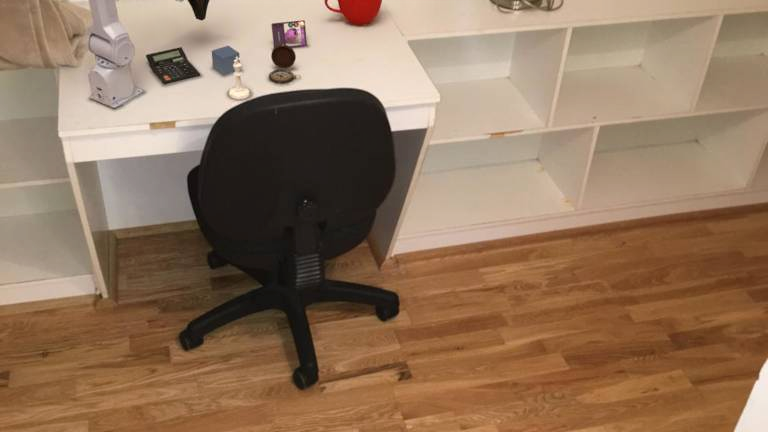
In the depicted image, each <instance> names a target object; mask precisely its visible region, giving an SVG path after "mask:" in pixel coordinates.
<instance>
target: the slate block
mask: <svg viewBox="0 0 768 432" xmlns="http://www.w3.org/2000/svg"><path fill="white" fill-rule="evenodd" d="M236 57H238V58H240V59H241V57H240V52H238V51H237V50H236V49H235V48H233V47H232V46H230V45H225V46H222V47H219V48H216V49H213V50H211V60H212V68H213V70H215V71H216V72H218V73H219V74H221V75H222V76H227V75H229V74H234V72H235V68H234V66H233V64H234V63H235V62H234V60H236ZM239 63H241V60H240V61H239Z"/></svg>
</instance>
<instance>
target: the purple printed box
mask: <svg viewBox="0 0 768 432" xmlns="http://www.w3.org/2000/svg"><path fill="white" fill-rule="evenodd" d="M286 24H287V27H288V28H289V29H286V31H285V25H286ZM270 25H271V34H272V44H273V49H274V48H275V47H276V46H278V45H283V44H284V45H287V44H286V41H287V42H294V41H295V40H297V38H299V35H300V37H301V41H300V44H296V45H295V44H294V45H289V46H290V47H291V48H300V47H307V46H308V41H307V40H308V39H307V30H306V21H305V20H304V19H303V20H294V21H282V22H272V23H271V24H270ZM298 27H299V28H298ZM298 31H300V33H299V32H298Z"/></svg>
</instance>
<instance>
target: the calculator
mask: <svg viewBox="0 0 768 432" xmlns="http://www.w3.org/2000/svg"><path fill="white" fill-rule="evenodd" d="M145 58H146V60H147V62H148V65H149V66H150V68H151V71H152V72H153V73H154V75H155V76H156V77H157V78H158V80H159V81H160V82H161V83H162V84H163V85H164V86H166V85H168V84H169V85H170V84H173V83H176V82H181V81H185V80H189V79H193V78H198V77H201V73H200V72H199V71H198V70H197V69H196V67H195V66H193V64H192V63H191V62H190V61H189V59H188V57H187V55H186V53H185V51H184V49H183V47H182V46H179V47H176V48H175V47H174V48H171V49H166V50H161V51H157V52H152V53H149V54H146V55H145Z"/></svg>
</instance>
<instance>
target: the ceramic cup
mask: <svg viewBox="0 0 768 432" xmlns="http://www.w3.org/2000/svg"><path fill="white" fill-rule="evenodd" d="M328 2H329V0H324V5H325V7H326V8H327V9H328V10H329V11H330V12H334V13H337V14H342V16H343V18H344V19H345V20H346V21H347V22H348V23H349V24H351V25H353V26H356V27H357V26H358V27H360V26H367V25H369V24H371V22H372V21H373V20H374V19H375V18H376V17H377V15H378V14H379V12H380V11H381V7H382V2H383V0H337V3H338V8H339V9H337V8H333V7H331V6H330V5H329V4H328Z"/></svg>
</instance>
